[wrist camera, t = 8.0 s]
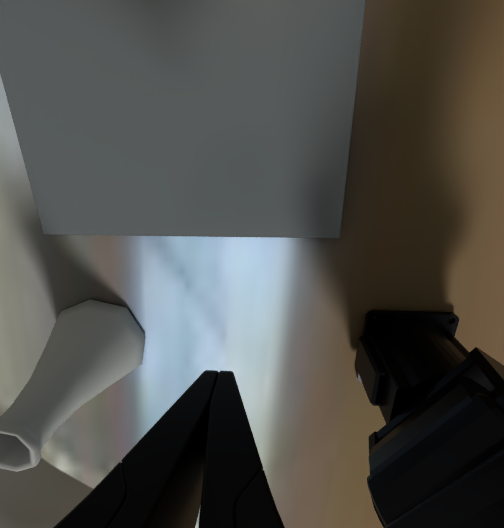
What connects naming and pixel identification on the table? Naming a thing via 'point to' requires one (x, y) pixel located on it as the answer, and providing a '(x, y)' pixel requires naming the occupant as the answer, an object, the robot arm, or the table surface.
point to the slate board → (184, 113)
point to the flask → (69, 376)
